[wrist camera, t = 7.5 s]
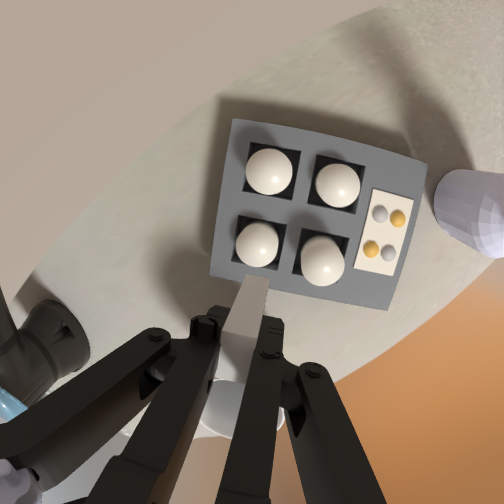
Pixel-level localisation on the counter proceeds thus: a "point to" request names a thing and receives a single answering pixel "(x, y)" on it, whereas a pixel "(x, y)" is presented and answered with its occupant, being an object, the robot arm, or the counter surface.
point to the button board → (320, 213)
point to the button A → (258, 243)
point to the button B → (268, 171)
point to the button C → (321, 260)
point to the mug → (226, 407)
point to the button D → (337, 184)
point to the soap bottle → (472, 209)
